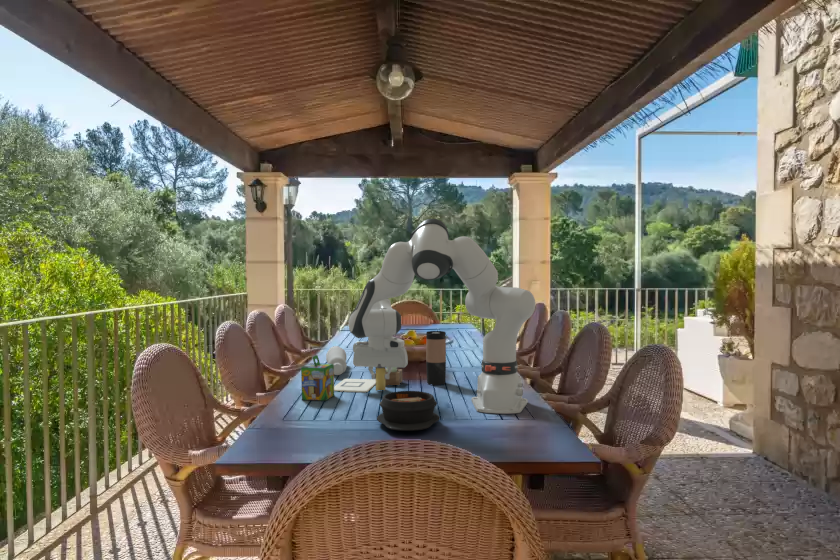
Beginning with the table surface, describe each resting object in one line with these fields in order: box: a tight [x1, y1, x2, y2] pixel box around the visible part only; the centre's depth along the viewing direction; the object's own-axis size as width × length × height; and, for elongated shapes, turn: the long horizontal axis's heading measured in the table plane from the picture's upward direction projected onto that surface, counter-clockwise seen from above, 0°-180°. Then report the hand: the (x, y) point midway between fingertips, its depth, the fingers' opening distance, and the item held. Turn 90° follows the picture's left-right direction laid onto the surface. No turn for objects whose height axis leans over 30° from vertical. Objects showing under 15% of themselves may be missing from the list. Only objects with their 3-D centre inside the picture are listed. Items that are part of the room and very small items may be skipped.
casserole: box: [376, 390, 441, 432], centre depth 176 cm, size 25×19×8 cm
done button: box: [386, 367, 398, 372], centre depth 231 cm, size 4×4×6 cm
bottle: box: [325, 345, 348, 376], centre depth 257 cm, size 9×9×30 cm
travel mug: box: [425, 330, 447, 386], centre depth 232 cm, size 8×8×20 cm
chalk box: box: [300, 354, 335, 402], centre depth 209 cm, size 9×9×15 cm
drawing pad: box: [334, 378, 376, 393], centre depth 228 cm, size 20×14×1 cm
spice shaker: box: [374, 364, 386, 391], centre depth 221 cm, size 4×4×10 cm
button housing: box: [385, 368, 403, 386], centre depth 232 cm, size 7×7×5 cm
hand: (380, 378), depth 221 cm, fingers closed on spice shaker, 4 cm apart
